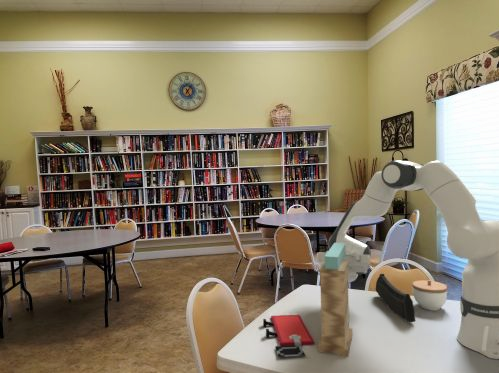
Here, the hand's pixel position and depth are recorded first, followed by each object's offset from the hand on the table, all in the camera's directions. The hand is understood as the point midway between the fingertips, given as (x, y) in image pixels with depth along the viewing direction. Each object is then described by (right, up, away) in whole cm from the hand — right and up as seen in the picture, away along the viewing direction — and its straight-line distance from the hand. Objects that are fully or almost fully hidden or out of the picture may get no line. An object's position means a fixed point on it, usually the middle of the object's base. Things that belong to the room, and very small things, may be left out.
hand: (340, 253), depth 124 cm
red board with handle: (-21, -27, -8) cm, 35 cm away
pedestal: (-5, -26, -15) cm, 31 cm away
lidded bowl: (+40, -25, +12) cm, 48 cm away
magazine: (+25, -25, +12) cm, 37 cm away
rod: (-5, 0, -11) cm, 12 cm away
